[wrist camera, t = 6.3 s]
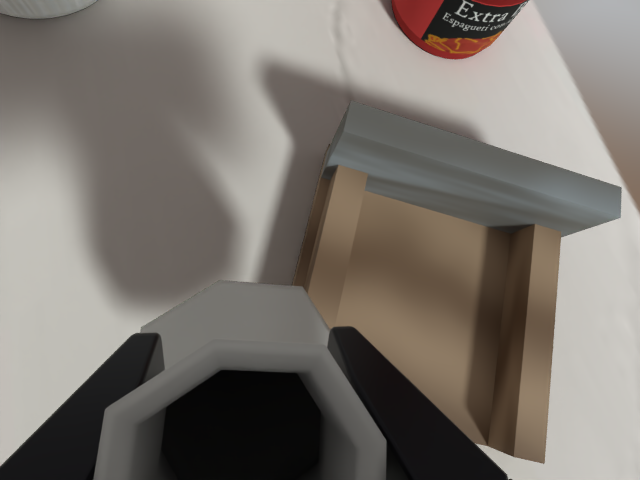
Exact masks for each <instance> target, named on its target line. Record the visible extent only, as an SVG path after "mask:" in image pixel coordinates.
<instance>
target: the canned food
mask: <svg viewBox="0 0 640 480" xmlns="http://www.w3.org/2000/svg"><path fill="white" fill-rule="evenodd" d="M528 1H529V0H392V8H393V12H394V15H395V18H396V20H397V22H398V24H399V26H400V27H401V29H402V30H403V32H404V33H405V34H406V36H407V37H408V38H409V39H410V40H412V41H413V42H414V43H415V44H416V45H417V46H419V47H420V48H422V49H423V50H425V51H427V52H429V53H431V54H433V55H435V56H439V57H442V58H447V59H464V58H467V57H470V56H473V55H475V54H477V53H478V52H480V51H482V50H483V49H485V48H487V47H488V46H490V45H491V44H492V43H493V42H494V41H495V40H496V39H497V38H498V36H499V35H500V34H501V33H502V32H503V31H504V29H505V28H506V27H507V26H508V25H509V24H510V22H511V21H512V20H513V19H514V18H515V16H516V15H517V14H518V13H519V12H520V11H521V9H522V8H523V7H524V6H525V5H526V4H527V2H528Z"/></svg>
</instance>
